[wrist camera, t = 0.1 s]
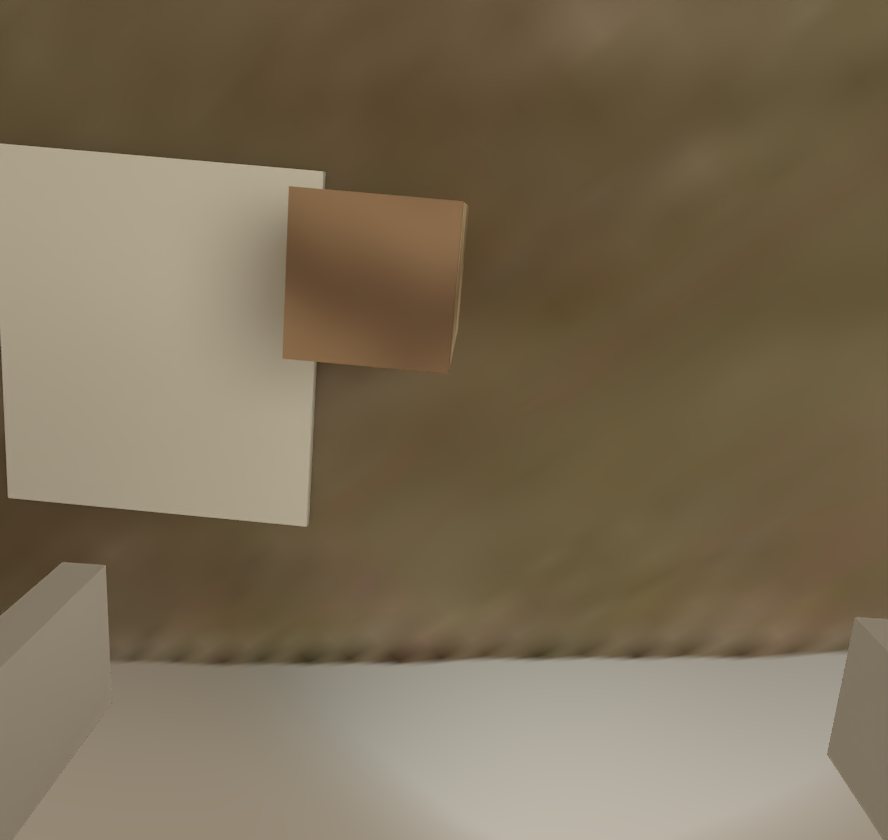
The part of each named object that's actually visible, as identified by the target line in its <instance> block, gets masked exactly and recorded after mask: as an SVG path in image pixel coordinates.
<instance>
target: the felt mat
mask: <svg viewBox="0 0 888 840" xmlns="http://www.w3.org/2000/svg"><path fill="white" fill-rule="evenodd" d="M325 177H326V172H323V171H312V170H300V169H289V168H277V167H266V166H254V165H242V164H231V163H219V162H208V161H196V160H185V159H173V158H162V157H150V156H138V155H127V154H115V153H104V152H92V151H81V150H69V149H58V148H46V147H34V146H23V145H11V144H0V336H1V357H2V379H3V400H4V422H5V443H6V464H7V486H8V498H14V499H25V500H35V501H45V502H56V503H66V504H77V505H87V506H97V507H108V508H118V509H129V510H139V511H149V512H160V513H170V514H181V515H191V516H201V517H212V518H222V519H233V520H243V521H253V522H264V523H274V524H285V525H295V526H305V527H307V525H308V523H309V512H310V491H311V470H312V450H313V429H314V408H315V387H316V366H317V362H314V361H303V360H292V359H282V356H283V329H284V303H285V276H286V249H287V223H288V196H289V186H293V187H305V188H316V189H325Z"/></svg>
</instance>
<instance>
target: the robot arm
mask: <svg viewBox="0 0 888 840" xmlns="http://www.w3.org/2000/svg"><path fill="white" fill-rule="evenodd" d="M111 695H112V694H111V672H110V650H109V628H108V606H107V585H106V565H96V564H82V563H67V562H62V563H61V564H60V565H59V566H57V567H56V568H55V569H54V570H53V571H52V572H51V573H49V574H48V575H47V576H46V577H45V578H44V579H42V580H41V581H40V582H39V583H38V584H37V585H35V586H34V587H33V588H32V589H31V590H30V591H28V592H27V593H26V594H25V595H24V596H23V597H22V598H20V599H19V600H18V601H17V602H16V603H15V604H13V605H12V606H11V607H10V608H9V609H8V610H6V611H5V612H4V613H3V614H2V615H1V616H0V840H13V839H14V837H15V836H16V834H17V833H18V832H19V830H20V829H21V828H22V826H23V825H24V823H25V822H26V821H27V819H28V818H29V816H30V815H31V814H32V812H33V811H34V810H35V808H36V807H37V805H38V804H39V803H40V801H41V800H42V799H43V797H44V796H45V794H46V793H47V792H48V790H49V789H50V788H51V786H52V785H53V784H54V782H55V781H56V779H57V778H58V776H59V775H60V774H61V773H62V771H63V770H64V768H65V767H66V766H67V764H68V763H69V761H70V760H71V759H72V757H73V756H74V755H75V753H76V752H77V750H78V749H79V748H80V746H81V745H82V744H83V742H84V741H85V739H86V738H87V737H88V735H89V734H90V733H91V731H92V730H93V728H94V727H95V726H96V724H97V723H98V721H99V720H100V719H101V717H102V716H103V715H104V713H105V712H106V711H107V709H108V708H109V706H110V705H111V704H112V696H111ZM827 755H828V756H829V758H830V759H831V761H832V762H833V764H834V766H835V767H836V768H837V770H838V771H839V773H840V775H841V776H842V778H843V779H844V781H845V782H846V784H847V785H848V787H849V788H850V790H851V791H852V793H853V794H854V796H855V798H856V799H857V801H858V802H859V804H860V805H861V807H862V808H863V810H864V811H865V813H866V814H867V816H868V817H869V819H870V820H871V822H872V823H873V825H874V827H875V828H876V829H877V831H878V833H879V834H880V836H881V837H882V839H883V840H888V619H877V618H863V617H855V620H854V625H853V630H852V635H851V640H850V645H849V650H848V655H847V660H846V665H845V669H844V675H843V679H842V684H841V689H840V694H839V699H838V704H837V709H836V714H835V718H834V723H833V728H832V733H831V738H830V743H829V748H828V753H827Z"/></svg>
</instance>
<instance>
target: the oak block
mask: <svg viewBox="0 0 888 840" xmlns="http://www.w3.org/2000/svg"><path fill="white" fill-rule="evenodd" d="M468 209H469V206H468V205H467V204H466V203H465V202H464V201H454V200H443V199H431V198H420V197H408V196H397V195H385V194H374V193H362V192H351V191H339V190H328V189H316V188H305V187H293V186H289V196H288V223H287V249H286V276H285V303H284V329H283V356H282V359H292V360H303V361H314V362H325V363H336V364H346V365H357V366H368V367H379V368H390V369H401V370H412V371H423V372H433V373H444V374H448V373H449V368H450V363H451V359H452V354H453V349H454V345H455V340H456V336H457V331H458V322H459V310H460V299H461V288H462V277H463V265H464V254H465V243H466V232H467V221H468Z"/></svg>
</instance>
